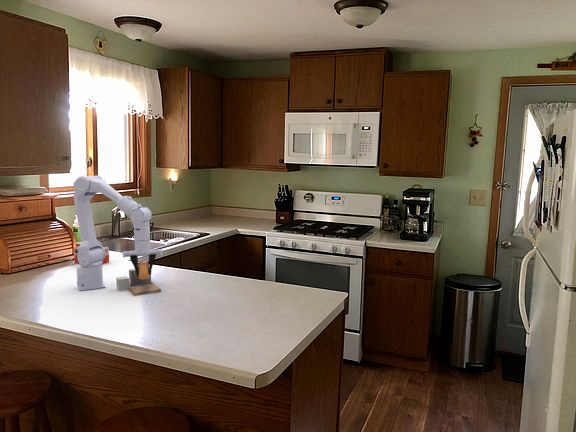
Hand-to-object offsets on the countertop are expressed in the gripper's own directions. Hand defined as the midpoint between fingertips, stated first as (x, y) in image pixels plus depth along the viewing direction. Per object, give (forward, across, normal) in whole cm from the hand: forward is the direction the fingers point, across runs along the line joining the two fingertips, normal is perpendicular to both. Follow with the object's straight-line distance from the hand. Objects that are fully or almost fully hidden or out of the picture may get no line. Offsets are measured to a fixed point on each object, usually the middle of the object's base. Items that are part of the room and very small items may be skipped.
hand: (144, 274), depth 183 cm
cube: (+7, +8, -5) cm, 12 cm away
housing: (+6, +2, -11) cm, 13 cm away
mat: (+6, 0, 0) cm, 6 cm away
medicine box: (+7, +28, -59) cm, 66 cm away
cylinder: (+1, 0, 0) cm, 1 cm away
